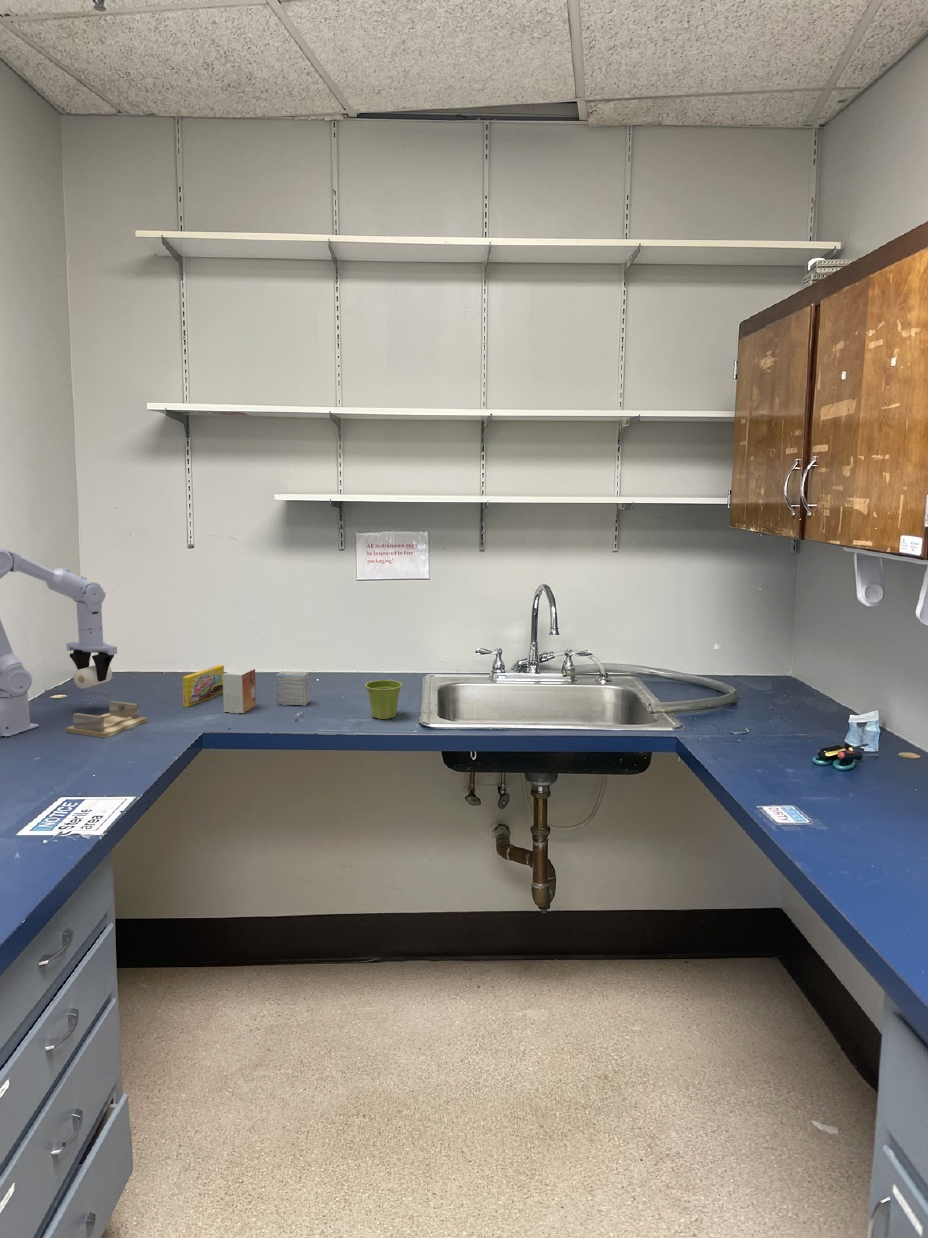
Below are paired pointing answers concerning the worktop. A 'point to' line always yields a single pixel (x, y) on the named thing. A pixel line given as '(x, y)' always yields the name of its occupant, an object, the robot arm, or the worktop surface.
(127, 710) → the roll holder
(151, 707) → the worktop surface
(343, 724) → the worktop surface
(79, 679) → the paper roll
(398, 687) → the plant pot
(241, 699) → the small box
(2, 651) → the robot arm
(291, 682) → the grey wooden crate
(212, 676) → the candy box
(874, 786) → the worktop surface
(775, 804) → the worktop surface
